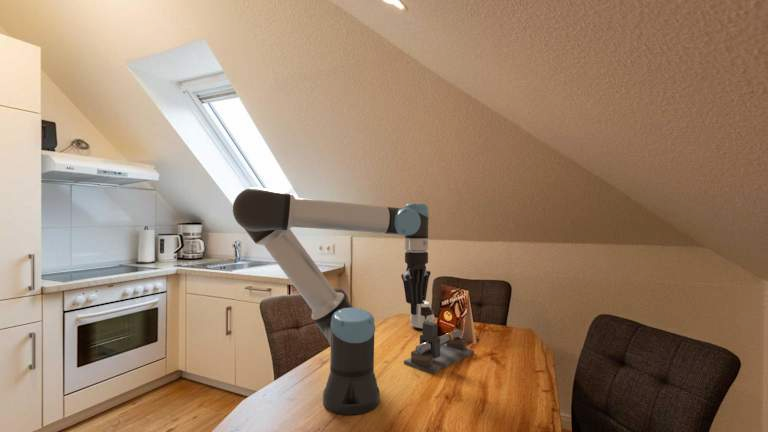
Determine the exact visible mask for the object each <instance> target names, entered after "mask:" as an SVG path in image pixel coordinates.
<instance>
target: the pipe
mask: <svg viewBox="0 0 768 432" xmlns="http://www.w3.org/2000/svg"><path fill="white" fill-rule="evenodd" d="M439 337H440V346H442V345H444V344H447V343H450V342H452V341H454V340H456V339H458V338H462V337H463V332H462V330H460V329H456V330H453V331H451V332H447V333H445V334H443V335H440V336H439ZM415 350H416V352H417V354H419V355H421V354H424V353H426V352H428V351H431V350H432V342H430V341H428V342H425V343H423V344H420V343H419V344H417V345H416V346H415Z"/></svg>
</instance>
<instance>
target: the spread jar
mask: <svg viewBox="0 0 768 432" xmlns="http://www.w3.org/2000/svg"><path fill="white" fill-rule="evenodd" d="M423 302H424V304H421V324H420V325H415V324H411V323H410V325H411V326H412V327H411V328H413V329H414V330H417V331H423V323H424V322H427V321H429V322H433V323H435V319H436V318H435V315H434V312H433V309H432V308H431V306H430V301H426V300H425V301H423ZM410 322H411V316H410Z"/></svg>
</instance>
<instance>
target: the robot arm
mask: <svg viewBox="0 0 768 432" xmlns="http://www.w3.org/2000/svg"><path fill="white" fill-rule="evenodd" d="M232 214H233V217H234V220H235V221H236V222H237V224H238V225H239V226H240V227H241V228H243V229H244V230H245V231H246V233H247V235H248V236H249V237H250V238H251V240H253V242H254V243H255V244H256V245H260V246H263V247H264V248H265V249H266V250H267V252H268V253H269V254H270V256H271V257H272V258H273V259H274V261H275V263H276V264H277V265H278V266H279V268H280V269H281V270H282V272H283V273H284V274H285V275H286V277H287V278H288V279H289V281H290V282H291V284H292V285H293V286H294V288H295V289H296V290H297V292H298V293H299V295H300V296H301V297H302V298H303V300H304V301H305V302H306V303H307V305H308V306H309V308H310V309H311V310H312V311H311V319H312V320H313V321H314V323H315V325H316V326H317V327H318V329H319V330H320V332H322V334H323V335H324V336H325V338H326V339H327V341H328V344H329V346H330V358H329V359H330V360H329V361H330V367H329V368H330V371H329V374H328V378H327V381H326V385H325V388H324V390H323V391H322V403H323V406H324V407H325V408H326V410H328V411H330V412H332V413H335V414H339V415H346V416H352V415H353V416H355V415H356V416H357V415H362V414H365V413H368V412H371V411H372V410H374V409H375V408H377V407H378V405H379V404H380V399H381V397H380V396H381V393H380V388H379V387H378V382H377V379H376V374H375V369H374V367H375V366H374V365H375V364H374V363H375V332H376V325H375V317H374V315H373V314H372V313H371V312H370V311H368V310H366V309H362V308H359V307H353V305H352V304H351V302H350V301H349V300H348V298H347V297H346V295H345V294H344V293H343V292H338V291H337V292H336V290H335V289H334V287H333V286H332V285H331V283H330V282H329V280H328V279H327V278H326V277H325V275H324V274H323V272H322V271H321V270H320V268H319V267H318V265H317V264H316V262H315V261H314V260H313V259H312V257H311V255H310V254H309V253H308V252H307V250H306V249H305V248H304V246H303V245H302V243H301V242H300V240H299V239H298V237H296V235H295V234H294V232H293V231H292V230H291V229H292V228H306V229H320V230H331V231H344V232H345V231H346V232H347V231H349V232H361V233H371V234H372V233H373V234H380V235H381V234H387V235H396V236H397V235H398V236H399V235H400V236H404V250H405V252H404V263H405V264H406V265H407V266H406V270H405V271H406V272H404V273H402V274H401V275H400V277H401V280H402V282H403V289H404V296H405V302H406V303H407V304H410V317H411V321H410V325H411V324H415V325H420V324H421V304H424V302H423V301H426V299H427V295H428V294H427V292H428V286H429V280H430V276H431V271H430V270H427V266H426V265H427V264H428V263H429V252H428V250H429V218H430V217H429V216H430V215H429V207H428V205H427V204H425V203H406V204H405V206H404V207H393V206H391V207H390V206H382V205H373V204H363V203H361V204H360V203H353V202H352V203H351V202H342V201H331V200H324V199H323V200H322V199H311V198H305V197H304V198H303V197H302V198H301V197H295V196H294V194H293V193H291V192H284V191H277V190H272V189H269V188H265V187H260V186H256V187H254V186H253V187H248V188H245V189H244V190H243V191H241V192H239V193H238V195H237V196H236V197H235V199H234V201H233V203H232Z"/></svg>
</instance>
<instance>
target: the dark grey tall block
mask: <svg viewBox="0 0 768 432" xmlns="http://www.w3.org/2000/svg"><path fill="white" fill-rule="evenodd" d="M438 325H439V324H438V323H436V322H429V321H427V322H424V323H423V330H422V334H419V345H420V344H423V343H425V342H428V341H430V342H432V350H431V351H428V352H426V353H427V354H430V355H433V358H434V359H436V358H438V357H440V336H438V328H439V327H438Z"/></svg>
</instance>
